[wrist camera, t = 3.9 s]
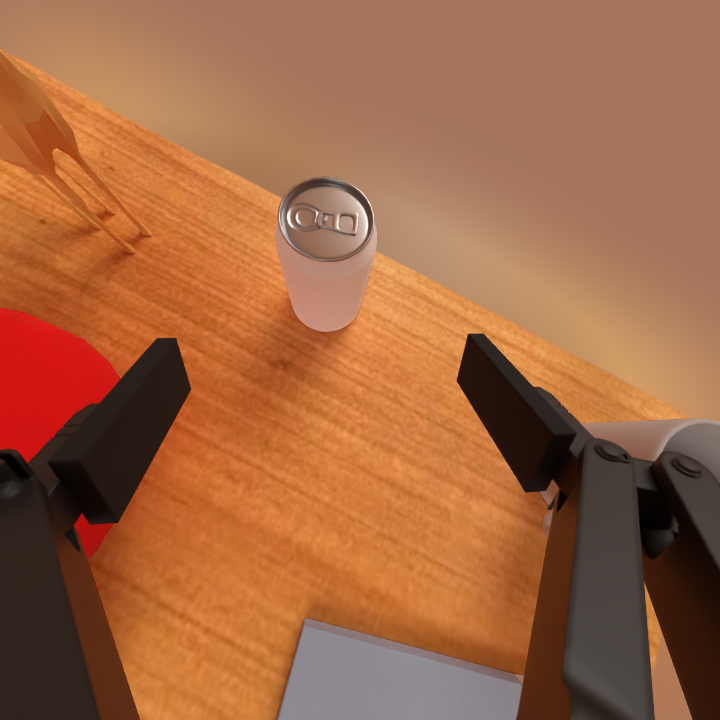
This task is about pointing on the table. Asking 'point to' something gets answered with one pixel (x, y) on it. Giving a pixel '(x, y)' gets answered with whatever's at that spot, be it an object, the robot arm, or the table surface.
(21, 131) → the giraffe
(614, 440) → the mug
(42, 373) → the vase
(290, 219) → the can
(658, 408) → the table surface
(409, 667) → the blue flat rectangular slab
